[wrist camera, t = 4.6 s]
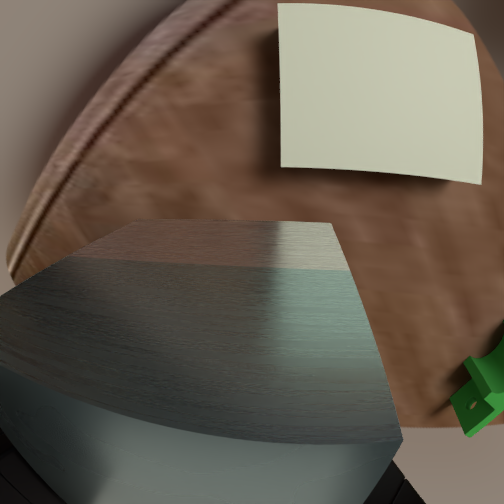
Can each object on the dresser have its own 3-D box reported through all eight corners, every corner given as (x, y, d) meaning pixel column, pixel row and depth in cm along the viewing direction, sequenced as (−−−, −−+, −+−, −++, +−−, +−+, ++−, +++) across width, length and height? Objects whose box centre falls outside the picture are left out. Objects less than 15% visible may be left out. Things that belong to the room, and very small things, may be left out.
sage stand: (284, 164, 16) (280, 166, 13) (281, 26, 13) (277, 3, 10) (454, 177, 14) (481, 184, 11) (450, 48, 12) (473, 34, 9)
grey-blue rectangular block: (175, 421, 10) (119, 545, 5) (138, 219, 8) (-53, 331, 2) (304, 437, 10) (291, 581, 4) (330, 223, 7) (403, 440, 2)
